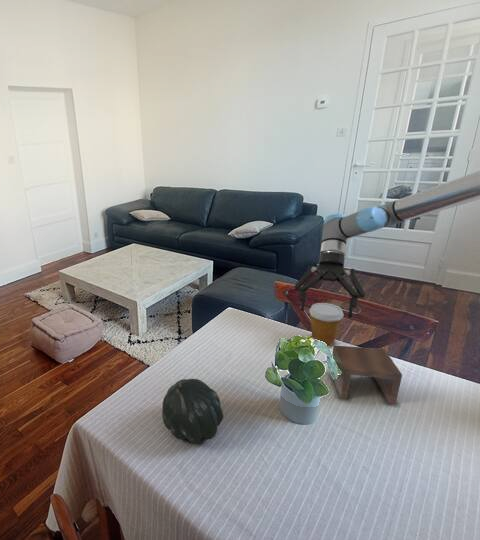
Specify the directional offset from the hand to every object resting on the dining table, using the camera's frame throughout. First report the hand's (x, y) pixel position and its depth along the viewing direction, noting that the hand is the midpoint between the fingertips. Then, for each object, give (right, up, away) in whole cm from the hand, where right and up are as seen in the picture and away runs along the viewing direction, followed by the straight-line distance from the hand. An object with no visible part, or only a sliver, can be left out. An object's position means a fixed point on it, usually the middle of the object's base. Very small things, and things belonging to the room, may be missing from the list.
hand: (325, 313), depth 112 cm
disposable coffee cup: (-1, -10, +1) cm, 10 cm away
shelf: (-3, -17, -20) cm, 27 cm away
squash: (-50, -26, -27) cm, 62 cm away
